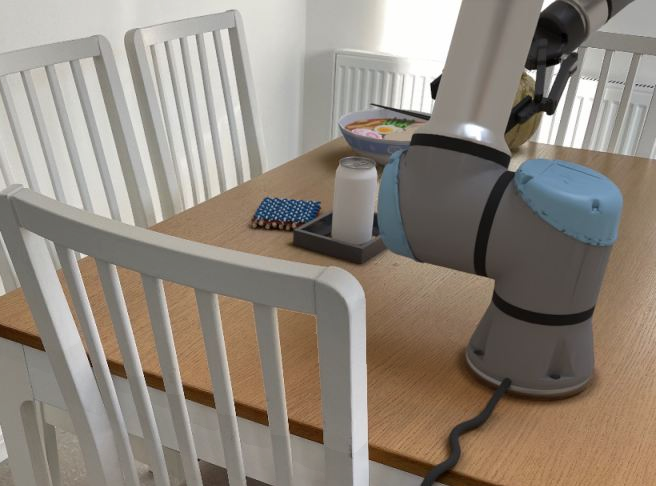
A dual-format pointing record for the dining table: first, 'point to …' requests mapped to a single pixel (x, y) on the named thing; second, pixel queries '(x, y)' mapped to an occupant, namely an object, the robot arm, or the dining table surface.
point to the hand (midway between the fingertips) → (463, 111)
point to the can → (354, 200)
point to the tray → (316, 240)
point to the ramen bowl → (381, 131)
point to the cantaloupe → (527, 129)
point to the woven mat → (285, 212)
